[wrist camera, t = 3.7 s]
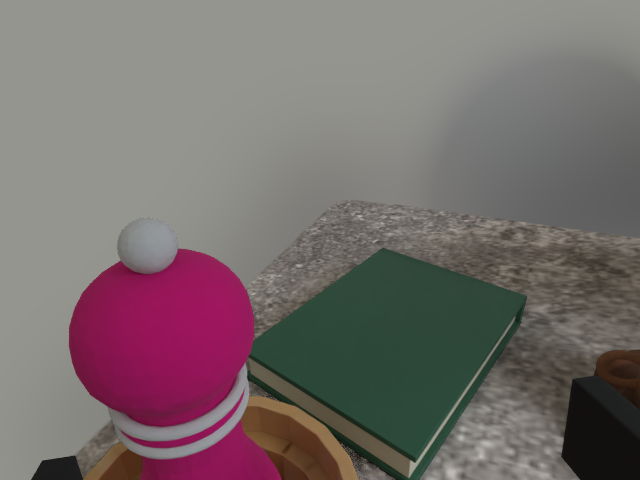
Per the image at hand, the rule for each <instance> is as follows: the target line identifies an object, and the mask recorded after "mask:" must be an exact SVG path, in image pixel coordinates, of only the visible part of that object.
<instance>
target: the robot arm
mask: <svg viewBox="0 0 640 480" xmlns="http://www.w3.org/2000/svg"><path fill="white" fill-rule="evenodd" d="M562 458H563V459H564V461H565V462H566V463H567V464H568V465H569V467H570V468H571V469H572V470H573V471H574V473H575V474H576V475H577V476H578V477H579V479H580V480H640V410H639V409H638V408H637V407H636V406H635V405H633V404H632V403H631V402H630V401H628V400H627V399H626V398H625V397H624V396H622V395H621V394H620V393H619V392H618V391H616V390H615V389H614V388H613V387H612V386H610V385H609V384H608V383H607V382H606V381H604V380H603V379H602V378H601V377H600V376H598V375H597V376H590V377H584V378H577V379H573V380H572V387H571V394H570V401H569V408H568V415H567V422H566V429H565V436H564V443H563V450H562ZM31 480H83V478H82V475H81V471H80V468H79V465H78V462H77V459H76V456H69V457H63V458H56V459H50V460H43V461H42V462H41V464H40V466H39V467H38V469H37V471H36V473H35V474H34V476H33V478H32V479H31Z"/></svg>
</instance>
